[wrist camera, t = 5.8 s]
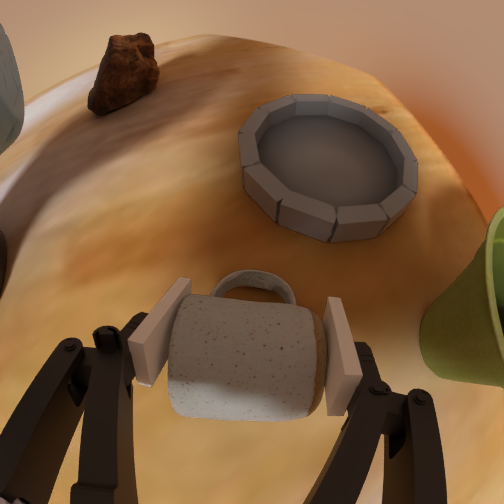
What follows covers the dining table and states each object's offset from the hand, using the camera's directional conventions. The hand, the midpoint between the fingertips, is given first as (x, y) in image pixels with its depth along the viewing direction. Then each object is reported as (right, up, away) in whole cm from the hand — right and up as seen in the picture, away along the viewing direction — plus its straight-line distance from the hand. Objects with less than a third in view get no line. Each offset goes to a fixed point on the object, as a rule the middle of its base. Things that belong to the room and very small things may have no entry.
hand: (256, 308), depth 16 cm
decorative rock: (-18, +26, +17) cm, 36 cm away
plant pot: (+16, -4, +2) cm, 17 cm away
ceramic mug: (-1, -3, +3) cm, 4 cm away
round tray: (+7, +12, +10) cm, 17 cm away
